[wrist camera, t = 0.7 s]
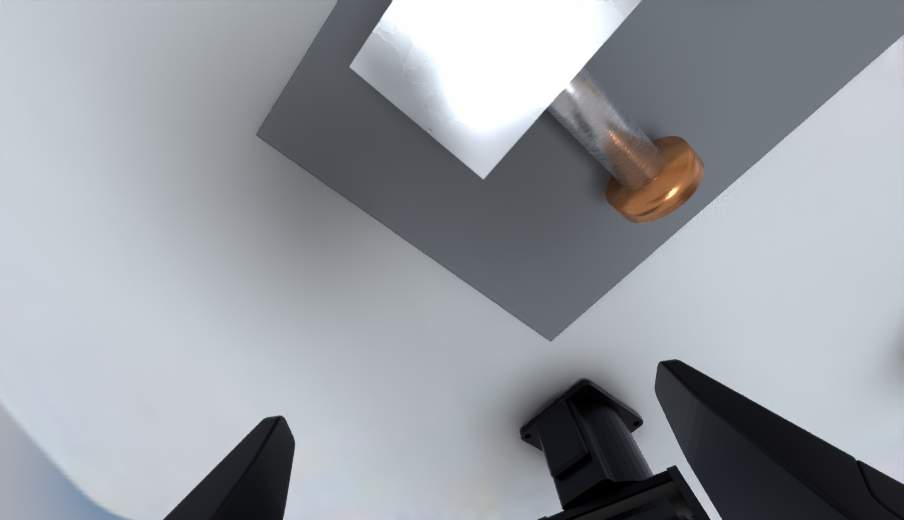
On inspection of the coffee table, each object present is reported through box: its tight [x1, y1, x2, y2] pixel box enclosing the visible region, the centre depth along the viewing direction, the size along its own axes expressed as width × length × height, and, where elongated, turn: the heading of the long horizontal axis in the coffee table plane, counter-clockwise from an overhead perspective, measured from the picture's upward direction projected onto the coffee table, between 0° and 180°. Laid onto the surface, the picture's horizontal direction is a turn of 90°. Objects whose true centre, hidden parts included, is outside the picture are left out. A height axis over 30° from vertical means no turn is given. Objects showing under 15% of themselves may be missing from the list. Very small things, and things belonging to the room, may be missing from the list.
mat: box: [256, 0, 904, 342], centre depth 18 cm, size 20×24×1 cm
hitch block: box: [349, 0, 642, 179], centre depth 15 cm, size 6×9×4 cm, turn 140°
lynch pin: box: [546, 66, 705, 224], centre depth 16 cm, size 12×4×4 cm, turn 50°
